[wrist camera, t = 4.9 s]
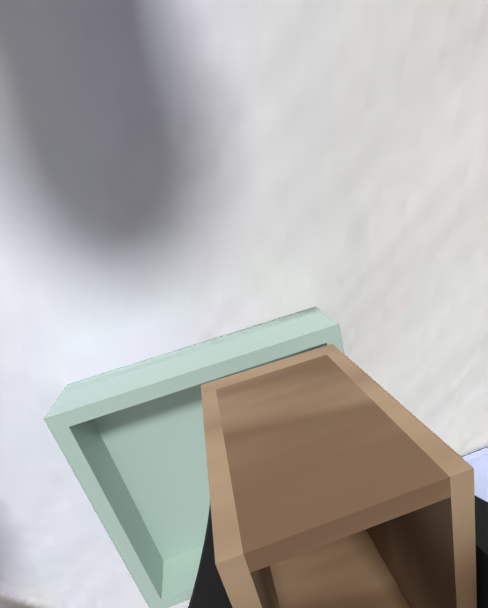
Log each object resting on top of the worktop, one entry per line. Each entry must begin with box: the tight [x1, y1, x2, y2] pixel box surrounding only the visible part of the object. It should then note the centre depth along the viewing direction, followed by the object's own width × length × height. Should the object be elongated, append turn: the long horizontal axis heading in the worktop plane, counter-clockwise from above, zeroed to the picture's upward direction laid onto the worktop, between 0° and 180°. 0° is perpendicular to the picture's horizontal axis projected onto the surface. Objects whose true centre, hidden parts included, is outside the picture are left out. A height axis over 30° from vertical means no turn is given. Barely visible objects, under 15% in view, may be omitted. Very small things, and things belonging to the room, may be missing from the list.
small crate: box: [201, 344, 477, 608], centre depth 10 cm, size 8×5×6 cm, turn 14°
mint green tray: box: [44, 307, 344, 608], centre depth 19 cm, size 15×15×3 cm
